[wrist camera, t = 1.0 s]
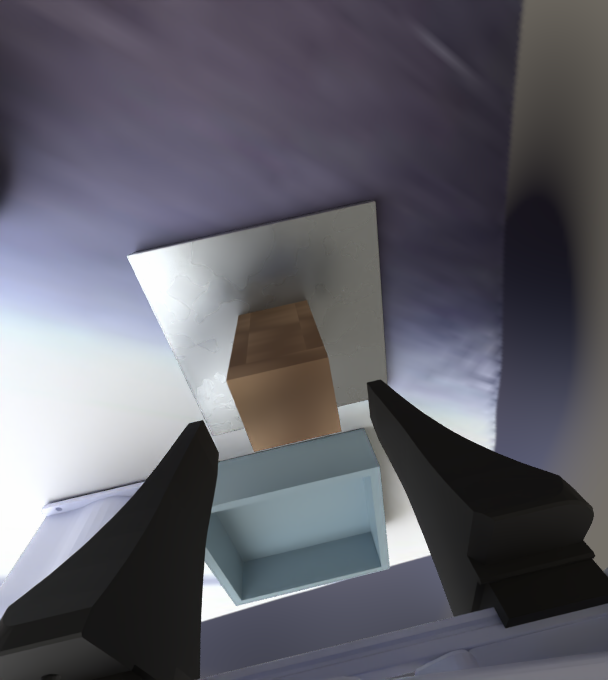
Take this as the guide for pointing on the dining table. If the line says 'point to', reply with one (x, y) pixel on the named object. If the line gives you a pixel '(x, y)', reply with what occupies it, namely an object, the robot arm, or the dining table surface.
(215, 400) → the stud base
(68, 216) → the dining table surface
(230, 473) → the bin
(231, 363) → the brown wooden block
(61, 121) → the dining table surface
